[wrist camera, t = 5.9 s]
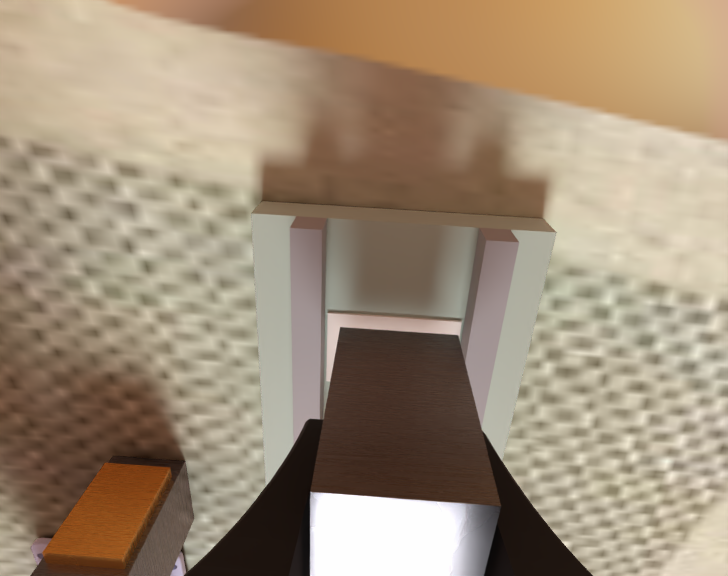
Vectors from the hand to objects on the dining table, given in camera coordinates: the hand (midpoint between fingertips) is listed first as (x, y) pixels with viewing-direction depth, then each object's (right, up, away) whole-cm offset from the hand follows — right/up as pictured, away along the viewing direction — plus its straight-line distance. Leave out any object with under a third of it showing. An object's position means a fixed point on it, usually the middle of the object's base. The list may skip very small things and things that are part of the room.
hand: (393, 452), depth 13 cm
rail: (0, -1, +8) cm, 8 cm away
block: (-11, -5, +11) cm, 16 cm away
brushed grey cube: (0, +2, +2) cm, 2 cm away
